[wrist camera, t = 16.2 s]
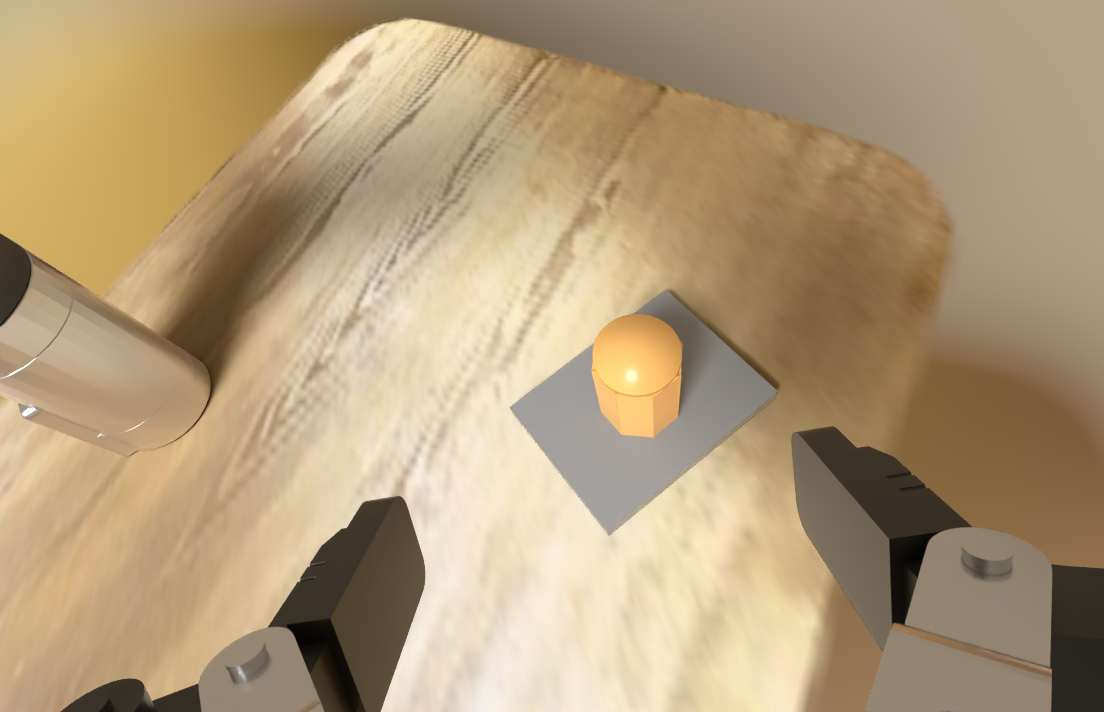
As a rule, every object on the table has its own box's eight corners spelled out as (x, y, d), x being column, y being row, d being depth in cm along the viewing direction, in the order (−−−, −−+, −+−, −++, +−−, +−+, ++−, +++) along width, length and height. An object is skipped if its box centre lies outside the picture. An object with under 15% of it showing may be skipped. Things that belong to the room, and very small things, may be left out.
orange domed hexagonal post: (636, 451, 42) (631, 411, 35) (587, 397, 45) (574, 349, 38) (694, 404, 43) (701, 355, 36) (643, 353, 46) (641, 298, 39)
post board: (608, 535, 41) (599, 512, 34) (513, 414, 47) (488, 372, 40) (774, 399, 44) (796, 351, 37) (665, 299, 49) (667, 240, 42)
